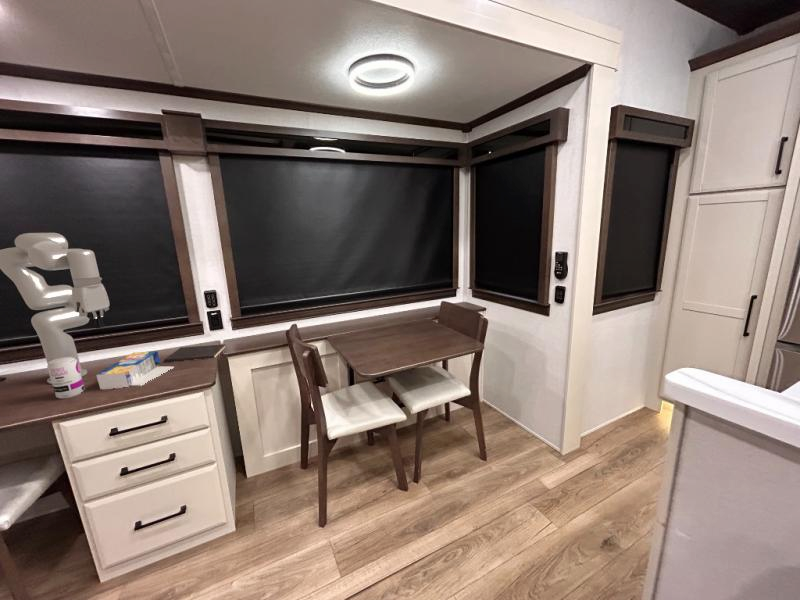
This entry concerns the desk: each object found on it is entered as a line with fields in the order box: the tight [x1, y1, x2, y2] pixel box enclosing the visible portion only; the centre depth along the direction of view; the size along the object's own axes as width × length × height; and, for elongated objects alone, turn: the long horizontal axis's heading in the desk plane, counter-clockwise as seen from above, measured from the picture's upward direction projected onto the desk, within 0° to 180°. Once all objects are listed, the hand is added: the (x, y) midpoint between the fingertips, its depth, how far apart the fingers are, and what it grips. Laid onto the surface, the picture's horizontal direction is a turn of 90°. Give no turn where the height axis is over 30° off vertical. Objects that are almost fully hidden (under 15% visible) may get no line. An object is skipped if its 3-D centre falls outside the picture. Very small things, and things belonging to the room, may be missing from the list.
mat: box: [130, 365, 175, 387], centre depth 142 cm, size 18×18×1 cm
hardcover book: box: [164, 343, 226, 363], centre depth 165 cm, size 16×23×2 cm
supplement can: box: [46, 357, 86, 400], centre depth 125 cm, size 8×8×15 cm
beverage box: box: [96, 350, 162, 390], centre depth 141 cm, size 7×11×22 cm
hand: (98, 327), depth 124 cm, fingers closed
